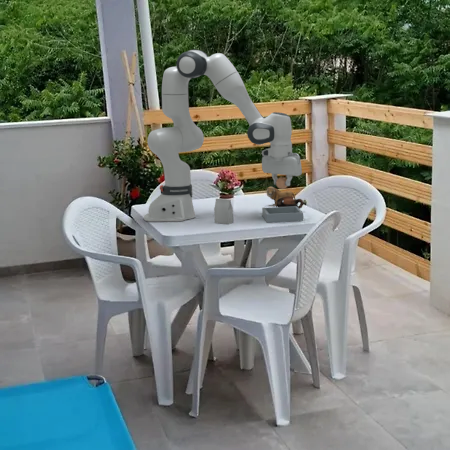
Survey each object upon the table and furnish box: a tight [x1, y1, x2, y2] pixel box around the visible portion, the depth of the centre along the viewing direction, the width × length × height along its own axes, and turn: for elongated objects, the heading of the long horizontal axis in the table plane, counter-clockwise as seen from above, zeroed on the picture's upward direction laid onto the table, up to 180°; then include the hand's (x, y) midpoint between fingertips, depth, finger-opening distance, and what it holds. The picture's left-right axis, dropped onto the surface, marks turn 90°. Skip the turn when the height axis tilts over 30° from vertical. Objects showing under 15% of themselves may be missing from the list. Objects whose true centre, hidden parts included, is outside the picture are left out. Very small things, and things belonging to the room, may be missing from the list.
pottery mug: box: [275, 196, 305, 210], centre depth 340 cm, size 12×10×8 cm
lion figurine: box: [266, 186, 297, 207], centre depth 357 cm, size 15×5×9 cm, turn 97°
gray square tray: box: [261, 206, 304, 224], centre depth 328 cm, size 15×15×4 cm
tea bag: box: [213, 198, 234, 225], centre depth 322 cm, size 4×7×10 cm, turn 60°
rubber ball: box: [275, 176, 288, 190], centre depth 325 cm, size 5×5×5 cm
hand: (282, 185), depth 325 cm, fingers closed on rubber ball, 5 cm apart
